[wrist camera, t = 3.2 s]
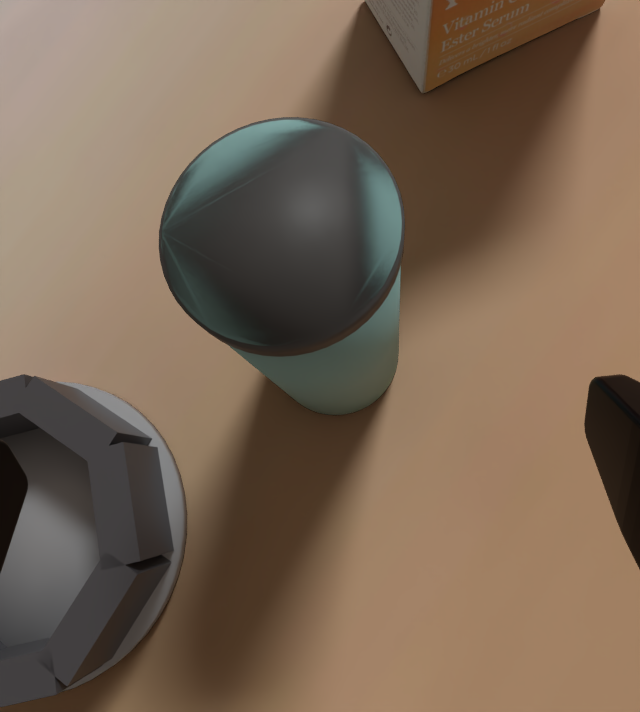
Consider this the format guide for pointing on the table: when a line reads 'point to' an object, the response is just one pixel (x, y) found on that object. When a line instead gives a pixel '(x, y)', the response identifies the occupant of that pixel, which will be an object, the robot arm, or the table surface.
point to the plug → (292, 257)
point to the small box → (466, 31)
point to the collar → (83, 535)
